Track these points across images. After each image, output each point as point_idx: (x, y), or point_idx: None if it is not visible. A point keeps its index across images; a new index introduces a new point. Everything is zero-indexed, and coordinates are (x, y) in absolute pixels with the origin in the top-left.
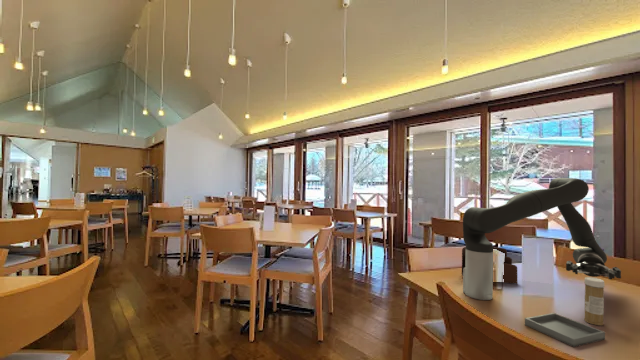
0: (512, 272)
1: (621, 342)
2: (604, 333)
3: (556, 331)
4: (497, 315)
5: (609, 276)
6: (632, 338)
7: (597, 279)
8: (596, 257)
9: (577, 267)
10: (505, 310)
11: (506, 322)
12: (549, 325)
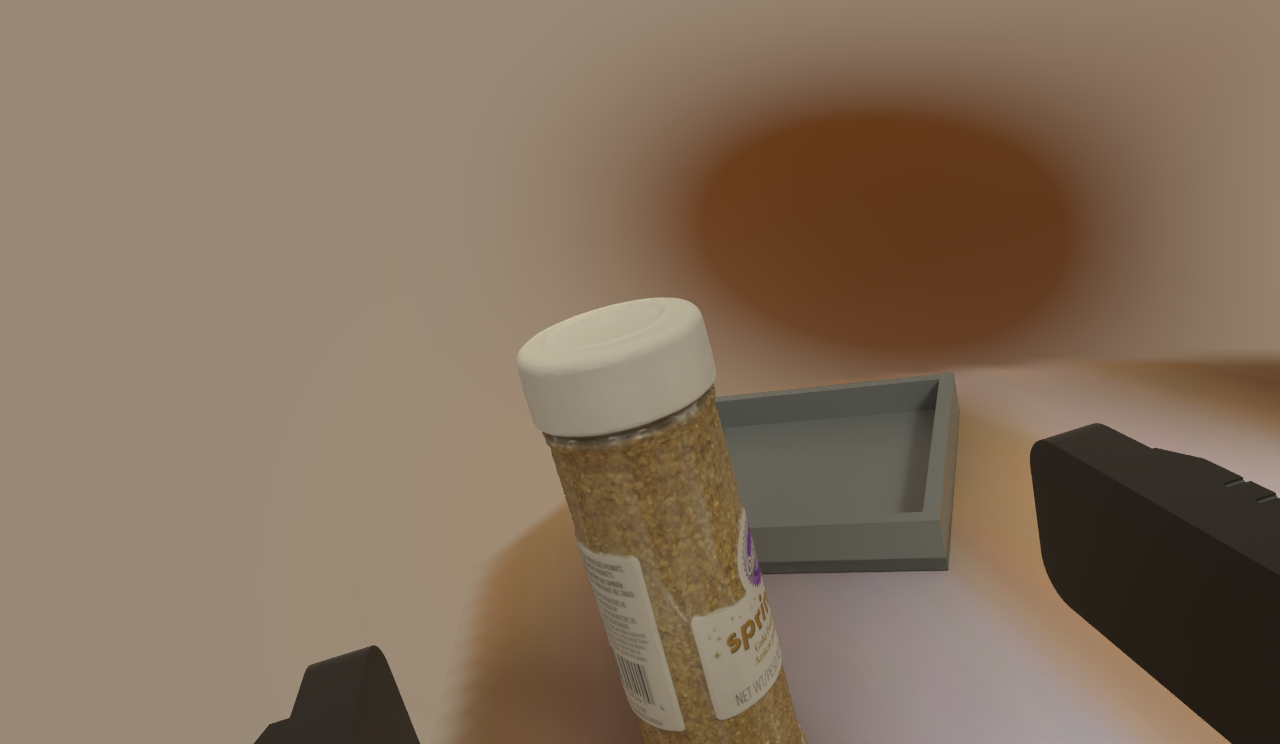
0: None
1: (536, 615)
2: None
3: (772, 392)
4: (1132, 378)
5: (402, 716)
6: (470, 723)
7: (575, 335)
8: None
9: (1093, 462)
10: (1215, 435)
11: (1023, 374)
12: (872, 464)
